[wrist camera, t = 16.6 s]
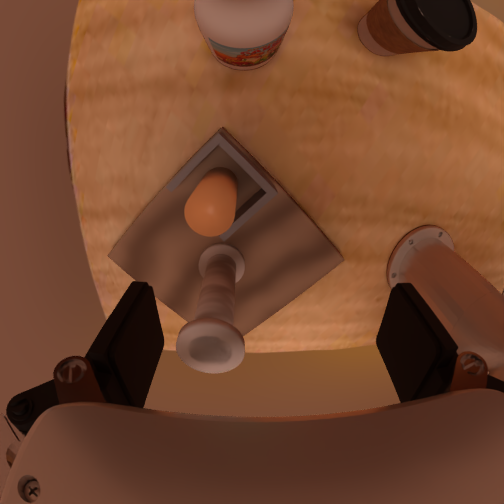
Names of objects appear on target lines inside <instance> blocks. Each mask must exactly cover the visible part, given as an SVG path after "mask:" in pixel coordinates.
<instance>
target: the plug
mask: <svg viewBox="0 0 504 504" xmlns="http://www.w3.org/2000/svg"><path fill="white" fill-rule="evenodd" d="M237 191H238V180H237V177H236V175H235V174H234V173H233V172H232V171H231V170H230V169H228V168H225V167H215V168H213V169H211V170H209V171H208V172H207V173H206V174H205V176H204V177H203V178H202V180H201V181H200V183H199V184H198V186H197V187H196V188H195V190H194V191H193V193H192V194H191V196H190V197H189V199H188V200H187V202H186V205H185V209H184V214H185V219H186V222H187V223H188V225H189V226H190V228H191V229H192V230H193V231H195V232H196V233H198V234H200V235H203V236H208V237H213V236H218V235H221V234H223V233H224V232H226V231H227V230H228V229H229V228H230V227H231V225H232V223H233V221H234V217H235V209H236V200H237Z"/></svg>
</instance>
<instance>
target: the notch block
mask: <svg viewBox="0 0 504 504" xmlns="http://www.w3.org/2000/svg"><path fill="white" fill-rule="evenodd" d="M217 145H219V146H220V147H221V148H222V149H224V150H225V151H226V152H227V153H228V154H229V155H230V156H231V157H232V158H233V159H234V160H235V161H236V162H237V163H238V164H239V165H240V166H241V167H242V168H243V169H244V170H245V171H246V172H247V173H248V174H249V175H250V176H251V177H252V178H253V179H254V180H255V181H256V182H257V184H258V185H259V186H260V187H261V189H260V190H259V191H258V192H256V193H255V194H254V195H253V196H252V197H251V198H250V199H249V200H248V201H247V202H245V203H244V204H243V205H242V206H241V207H240V208H239V209H238V210H237V211H236V212H235V217H234V221H233V223H232V225H231V227H230V228H229V229H228V230H227V231H226V232H224V233H223V234H221V235H219V237H220V238H221V239H222V240H223V241H225V240H227V239H228V238H229V237H230V236H231V235H232V234H233V233H234V232H235V231H236V230H238V229H239V228H240V227H241V226H242V225H243V224H244V223H245V222H246V221H248V220H249V219H250V218H251V217H252V216H253V215H254V214H255V213H257V212H258V211H259V210H260V209H261V208H262V207H263V206H264V205H266V204H267V203H268V202H269V201H270V200H271V199H272V198H273V197H275V196H276V195H277V194H278V192H277V190H276V187H275V185H274V184H273V183H272V182H271V181H270V180H269V179H268V178H267V177H266V176H265V175H264V174H263V173H262V172H261V171H260V170H259V169H258V168H257V166H256V165H255V164H254V163H253V162H252V161H251V160H250V159H249V158H248V157H247V156H246V155H245V154H244V153H243V152H242V151H241V150H240V149H239V148H238V147H237V146H236V145H235V144H234V143H233V142H232V141H231V140H230V139H229V138H228V137H227V136H226V135H225V134H224V133H222V132H219V133H218V134H217V135H216V136H215V137H214V138H213V139H212V140H211V141H209V142H208V143H207V144H206V145H205V146H204V147H203V148H202V149H201V150H200V151H199V152H198V154H197V155H196V156H195V157H194V158H193V159H192V160H191V161H190V162H189V163H188V164H187V165H186V166H185V167H184V168H183V169H182V170H181V171H180V172H179V173H178V174H177V175H176V177H175V178H174V179H173V180H172V181H171V182H170V183H169V184H168V185H167V186H166V188H167V189H168V190H169V191H170V192H172V191H173V190H174V189H175V188H176V187H177V186H178V185H179V184H180V183H181V182H182V181H183V180H184V179H185V178H186V177H187V175H188V174H189V173H190V172H191V171H192V170H193V169H194V168H195V167H196V166H197V165H198V164H199V163H200V162H201V161H202V160H203V159H204V158H205V157H206V156H207V155H208V154H209V153H210V152H211V151H212V150H213V149H214V148H215V147H216V146H217Z"/></svg>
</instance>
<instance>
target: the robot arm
mask: <svg viewBox="0 0 504 504" xmlns="http://www.w3.org/2000/svg"><path fill="white" fill-rule="evenodd" d="M387 279H388V283H389V286H390V288H391V289H392V290H391V293H390V297H389V300H388V303H387V307H386V310H385V313H384V317H383V320H382V323H381V326H380V329H379V332H378V335H377V338H376V344H377V347H378V349H379V352H380V354H381V356H382V358H383V361H384V363H385V365H386V368H387V370H388V373H389V375H390V377H391V380H392V382H393V384H394V387H395V389H396V392H397V394H398V397H399V400H400V402H401V403H399V404H393V405H388V406H382V407H377V408H370V409H364V410H356V411H349V412H340V413H330V414H319V415H306V416H289V417H288V416H286V417H232V416H211V415H198V414H186V413H178V412H169V411H159V410H152V409H145V408H143V407H144V404H145V400H146V398H147V394H148V392H149V388H150V385H151V382H152V379H153V376H154V373H155V370H156V367H157V364H158V362H159V359H160V356H161V353H162V350H163V347H164V336H163V332H162V328H161V323H160V319H159V314H158V310H157V305H156V300H155V295H154V290H153V287H152V286H149V284H148V283H147V282H140V281H133V282H132V283H131V284H130V286H129V287H128V289H127V290H126V292H125V293H124V295H123V296H122V298H121V299H120V301H119V303H118V304H117V306H116V307H115V309H114V310H113V312H112V314H111V315H110V316H109V317H108V319H107V321H106V322H105V324H104V326H103V327H102V329H101V330H100V332H99V334H98V335H97V337H96V339H95V341H94V342H93V344H92V345H91V347H90V349H89V351H88V352H87V354H86V356H85V357H81V356H70V357H67V358H65V359H63V360H61V361H60V362H59V363H58V364H57V365H56V367H55V369H54V372H53V378H54V379H53V380H51V381H49V382H46V383H44V384H42V385H39V386H37V387H34V388H32V389H29V390H27V391H25V392H22V393H20V394H18V395H16V396H14V397H13V398H12V399H11V400H10V401H9V403H8V405H7V409H6V411H7V414H6V415H5V416H4V415H3V414H2V413H1V414H0V504H504V296H503V295H502V294H501V293H500V292H499V291H498V290H497V289H496V288H495V287H494V286H493V285H491V284H490V283H489V282H488V281H487V280H486V279H485V278H484V277H483V276H482V275H481V274H480V273H478V272H477V271H476V270H475V269H474V268H473V267H472V266H471V265H469V264H468V263H467V262H466V261H465V260H464V259H462V258H461V257H460V256H459V255H458V254H457V253H455V252H454V245H453V241H452V239H451V237H450V235H449V234H448V233H447V232H446V231H444V230H443V229H441V228H439V227H437V226H432V225H428V226H422V227H419V228H417V229H415V230H413V231H411V232H410V233H409V234H407V235H406V236H405V237H404V238H403V239H402V240H401V241H400V242H399V243H398V245H397V246H396V248H395V249H394V251H393V253H392V255H391V257H390V260H389V263H388V269H387ZM488 372H489V374H488Z"/></svg>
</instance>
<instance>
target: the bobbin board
mask: <svg viewBox="0 0 504 504" xmlns="http://www.w3.org/2000/svg"><path fill="white" fill-rule="evenodd" d="M219 132H222V133H224V134H225V135H226V136H227V137H228V138H229V139H230V140H231V141H232V142H233V143H234V144H235V145H236V146H237V147H238V148H239V149H240V150H241V151H242V152H243V153H244V154H245V155H246V156H247V157H248V158H249V159H250V160H251V161H252V162H253V163H254V164H255V165H256V166H257V168H258V169H259V170H260V171H261V172H262V173H263V174H264V175H265V176H266V177H267V178H268V179H269V180H270V181H271V182H272V183H273V184H274V185H275V187H276V190H277V192H278V194H277V195H276V196H275V197H273V198H272V199H271V200H270V201H269V202H268V203H267V204H266V205H264V206H263V207H262V208H261V209H260V210H259V211H258V212H257V213H255V214H254V215H253V216H252V217H251V218H250V219H249V220H248V221H246V222H245V223H244V224H243V225H242V226H241V227H240V228H239V229H238V230H236V231H235V232H234V233H233V234H232V235H231V236H230V237H229V238H228V239H227V240H225V241H223V240H222V239H221V238H220V237H219V235H218V236H213V237H208V236H203V235H200V234H198V233H196V232H195V231H193V230H192V229H191V228H190V226H189V225H188V223H187V222H186V219H185V214H184V209H185V205H186V202H187V200H188V199H189V197H190V196H191V194H192V193H193V191H194V190H195V188H196V187H197V186H198V184H199V183H200V181H201V180H202V178H203V177H204V176H205V174H206V173H207V172H208V171H209V170H211V169H213V168H215V167H225V168H228V169H230V170H231V171H232V172H233V173H234V174H235V175H236V177H237V180H238V191H237V200H236V209H235V212H236V211H237V210H238V209H239V208H240V207H241V206H242V205H243V204H244V203H245V202H247V201H248V200H249V199H250V198H251V197H252V196H253V195H254V194H255V193H256V192H258V191H259V190H260V189H261V187H260V186H259V185H258V184H257V182H256V181H255V180H254V179H253V178H252V177H251V176H250V175H249V174H248V173H247V172H246V171H245V170H244V169H243V168H242V167H241V166H240V165H239V164H238V163H237V162H236V161H235V160H234V159H233V158H232V157H231V156H230V155H229V154H228V153H227V152H226V151H225V150H224V149H222V148H221V147H220V146H219V145H217V146H216V147H215V148H214V149H213V150H212V151H211V152H210V153H209V154H208V155H207V156H206V157H205V158H204V159H203V160H202V161H201V162H200V163H199V164H198V165H197V166H196V167H195V168H194V169H193V170H192V171H191V172H190V173H189V174H188V175H187V177H186V178H185V179H184V180H183V181H182V182H181V183H180V184H179V185H178V186H177V187H176V188H175V189H174V190H173V191H172V192H170V191H169V190H168V189H167V188H166V186H167V185H168V184H169V183H170V182H171V181H172V180H173V179H174V178H175V177H176V175H177V174H178V173H179V172H180V171H181V170H182V169H183V168H184V167H185V166H186V165H187V164H188V163H189V162H190V161H191V160H192V159H193V158H194V157H195V156H196V155H197V154H198V152H199V151H200V150H201V149H202V148H203V147H204V146H205V145H206V144H207V143H208V142H209V141H211V140H212V139H213V138H214V137H215V136H216V135H217V134H218V133H219ZM108 257H109V258H110V259H111V260H113V261H114V262H115V263H116V264H117V265H118V266H119V267H121V268H122V269H123V270H124V271H125V272H126V273H127V274H129V275H130V276H131V277H132V278H133V279H135V280H136V281H140V282H147V283H148V284H149V286H152V287H153V290H154V295H155V297H156V298H158V299H159V300H160V301H161V302H163V303H164V304H165V305H167V306H168V307H169V308H170V309H172V310H173V311H174V312H176V313H177V314H178V315H179V316H181V317H182V318H183V319H185V320H186V321H187V322H188V323H187V324H185V325H184V326H183V327H182V328H181V330H180V332H179V335H178V338H177V342H176V351H177V353H178V356H179V357H180V358H181V360H182V361H183V362H184V363H185V364H187V365H188V366H190V367H192V368H193V369H196V370H198V371H202V372H206V373H222V372H226V371H229V370H232V369H234V368H235V367H237V366H238V365H239V364H240V363H241V362H242V360H243V357H244V353H245V344H244V338H243V336H244V335H245V334H247V333H248V332H250V331H251V330H253V329H254V328H255V327H257V326H258V325H260V324H261V323H262V322H264V321H265V320H267V319H268V318H269V317H271V316H272V315H273V314H275V313H276V312H278V311H279V310H280V309H282V308H283V307H284V306H286V305H287V304H288V303H290V302H291V301H292V300H294V299H295V298H296V297H298V296H299V295H300V294H302V293H303V292H304V291H306V290H307V289H308V288H310V287H311V286H312V285H313V284H315V283H316V282H317V281H319V280H320V279H321V278H322V277H324V276H325V275H326V274H328V273H329V272H330V271H331V270H333V269H334V268H335V267H336V266H338V265H339V264H340V263H341V262H343V261H344V259H343V257H342V255H341V254H340V252H339V251H338V250H337V249H336V248H335V246H334V245H333V244H332V243H331V242H330V241H329V239H328V238H327V237H326V236H325V235H324V234H323V232H322V231H321V230H320V229H319V228H318V227H317V226H316V224H315V223H314V222H313V221H312V220H311V219H310V218H309V217H308V215H307V214H306V213H305V212H304V211H303V210H302V209H301V208H300V207H299V205H298V204H297V203H296V202H295V201H294V200H293V199H292V198H291V197H290V196H289V194H288V193H287V192H286V191H285V190H284V189H283V188H282V187H281V186H280V185H279V184H278V183H277V182H276V181H275V179H274V178H273V177H272V176H271V175H270V174H269V173H268V172H267V171H266V170H265V169H264V168H263V167H262V166H261V165H260V164H259V163H258V162H257V161H256V160H255V159H254V158H253V157H252V156H251V155H250V154H249V153H248V152H247V151H246V149H245V148H244V147H243V146H242V145H241V144H240V143H239V142H238V141H237V140H235V139H234V138H233V137H232V136H231V135H230V134H229V133H228V132H227V131H226V130H225V129H224V128H223V127H222V128H221V129H220V130H218V131H217V132H216V133H215V134H214V135H213V136H212V137H211V138H210V139H209V140H208V141H207V142H206V143H205V144H204V145H203V146H202V147H201V148H200V149H199V150H198V151H197V152H196V153H195V154H194V155H193V156H192V157H191V158H190V159H189V160H188V162H187V163H186V164H185V165H184V166H183V167H182V168H181V169H180V170H179V171H178V172H177V173H176V174H175V175H174V176H173V178H172V179H171V180H170V181H169V182H168V183H167V184H166V185H165V186H164V187H163V189H162V190H161V191H160V192H159V193H158V194H157V195H156V196H155V198H154V199H153V200H152V201H151V202H150V203H149V205H148V206H147V207H146V208H145V209H144V210H143V212H142V213H141V214H140V215H139V216H138V218H137V219H136V220H135V221H134V223H133V224H132V225H131V226H130V227H129V229H128V230H127V231H126V232H125V234H124V235H123V236H122V237H121V239H120V240H119V241H118V243H117V244H116V245H115V246H114V248H113V249H112V250H111V252H110V253H109V254H108Z"/></svg>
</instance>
